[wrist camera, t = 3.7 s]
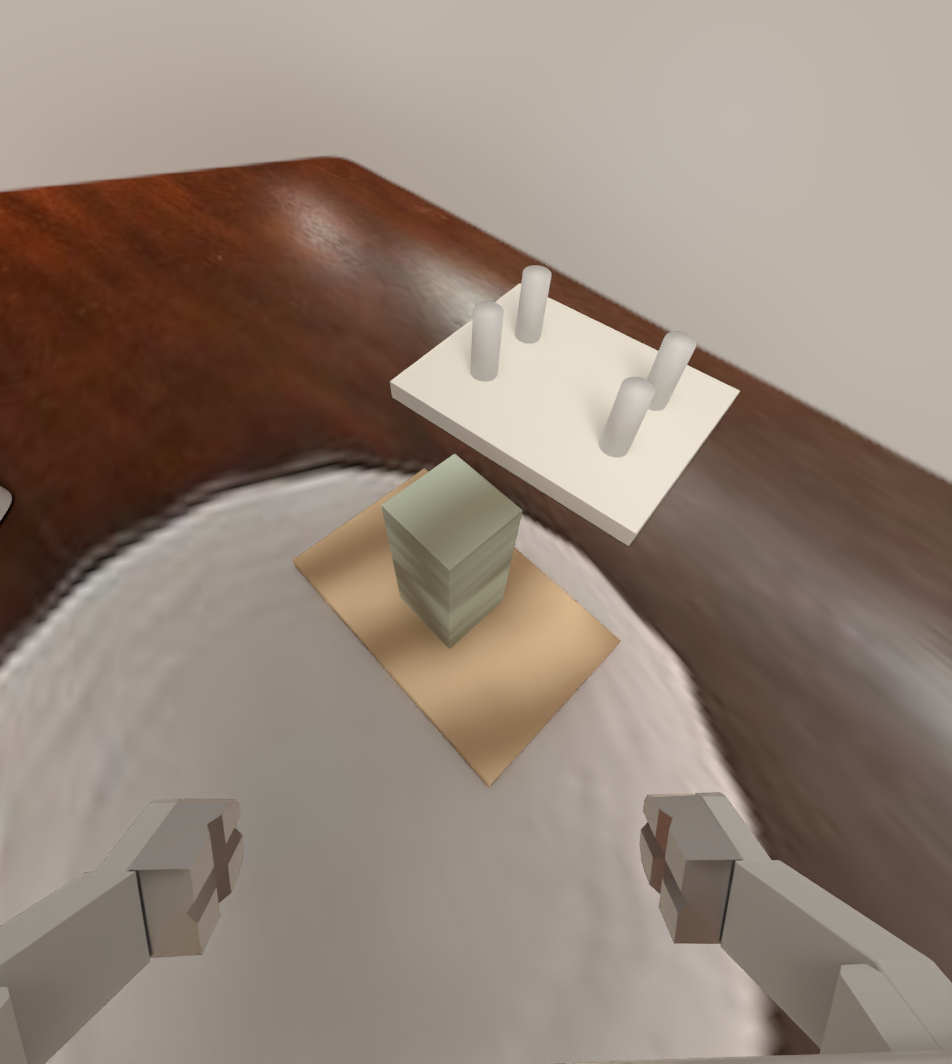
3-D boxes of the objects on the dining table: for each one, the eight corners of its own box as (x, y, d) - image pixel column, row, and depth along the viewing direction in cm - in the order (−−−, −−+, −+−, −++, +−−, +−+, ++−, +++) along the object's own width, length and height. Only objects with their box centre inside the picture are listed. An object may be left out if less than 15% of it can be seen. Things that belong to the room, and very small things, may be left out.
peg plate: (392, 397, 37) (381, 319, 31) (517, 299, 44) (527, 221, 38) (628, 546, 31) (667, 483, 25) (730, 406, 38) (778, 332, 32)
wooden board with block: (297, 569, 29) (234, 458, 21) (425, 479, 33) (416, 353, 25) (488, 787, 24) (510, 758, 15) (614, 648, 28) (689, 562, 19)
